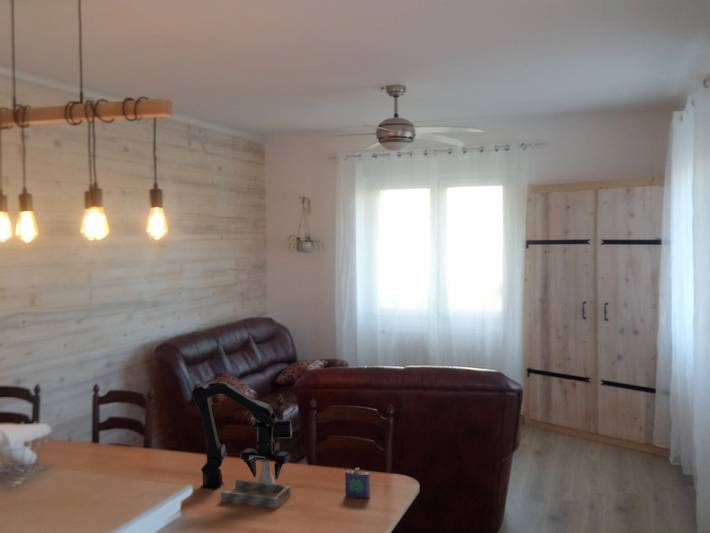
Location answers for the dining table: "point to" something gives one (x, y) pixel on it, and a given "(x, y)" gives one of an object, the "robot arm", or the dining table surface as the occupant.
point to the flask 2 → (357, 484)
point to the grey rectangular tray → (257, 494)
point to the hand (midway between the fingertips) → (265, 477)
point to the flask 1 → (266, 473)
